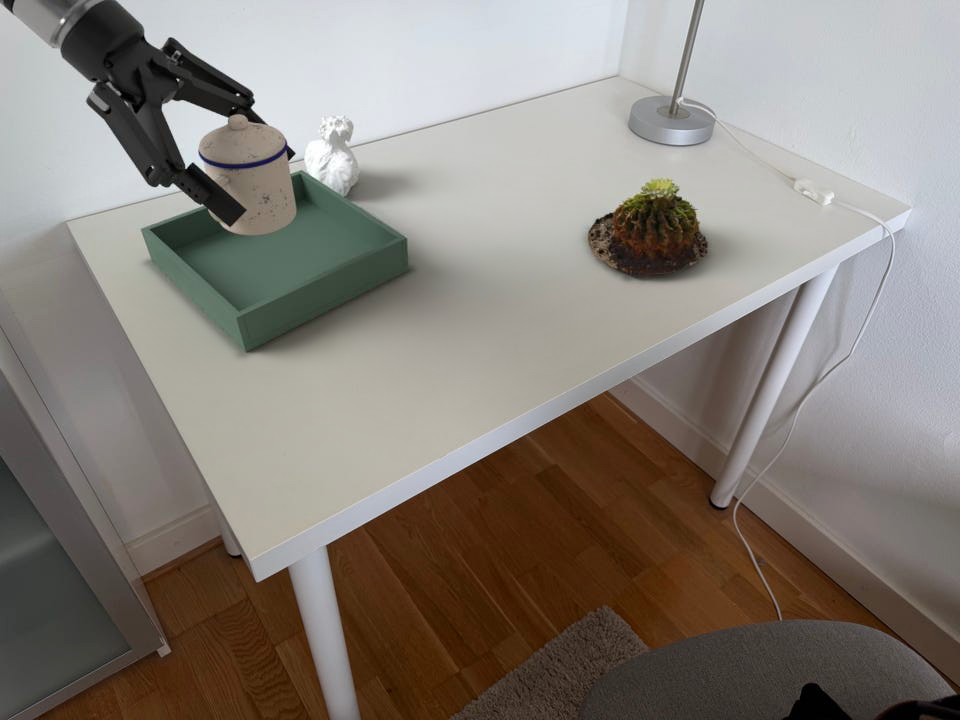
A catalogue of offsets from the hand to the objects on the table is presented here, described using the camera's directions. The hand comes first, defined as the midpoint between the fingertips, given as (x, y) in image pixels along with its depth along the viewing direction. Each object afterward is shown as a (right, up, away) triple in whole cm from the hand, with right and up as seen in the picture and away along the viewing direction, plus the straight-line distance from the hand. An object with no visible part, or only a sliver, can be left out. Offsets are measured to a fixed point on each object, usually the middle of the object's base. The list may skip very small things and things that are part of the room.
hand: (265, 188), depth 74 cm
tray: (-3, -6, +15) cm, 17 cm away
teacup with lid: (-3, -3, +4) cm, 5 cm away
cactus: (+46, -3, +21) cm, 51 cm away
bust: (+1, +8, +31) cm, 33 cm away
